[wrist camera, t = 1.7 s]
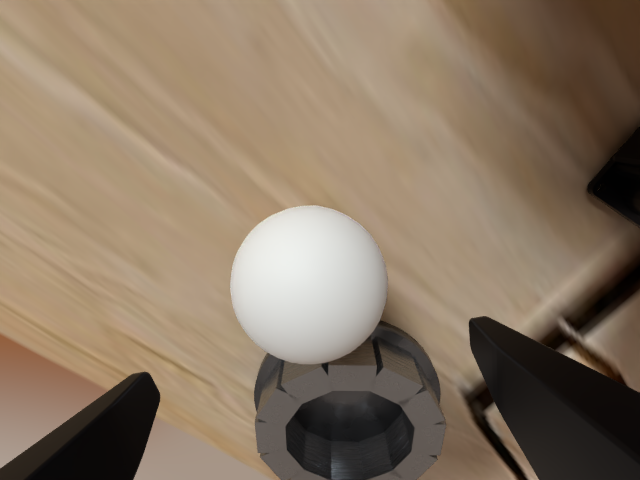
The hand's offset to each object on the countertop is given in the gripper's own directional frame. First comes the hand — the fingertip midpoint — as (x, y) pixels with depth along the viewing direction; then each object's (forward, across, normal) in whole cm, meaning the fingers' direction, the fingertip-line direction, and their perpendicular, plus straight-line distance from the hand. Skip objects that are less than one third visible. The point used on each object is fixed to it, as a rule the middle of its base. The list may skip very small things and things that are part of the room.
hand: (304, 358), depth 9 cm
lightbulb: (+12, 0, 0) cm, 12 cm away
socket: (+12, +1, +14) cm, 19 cm away
